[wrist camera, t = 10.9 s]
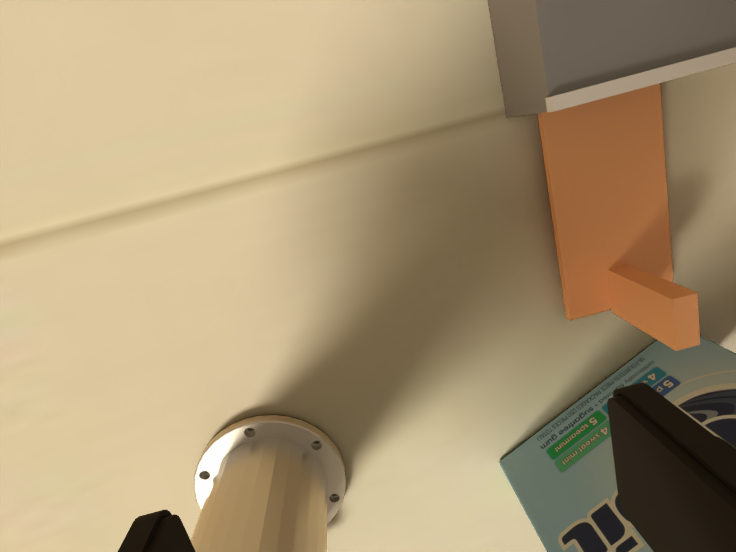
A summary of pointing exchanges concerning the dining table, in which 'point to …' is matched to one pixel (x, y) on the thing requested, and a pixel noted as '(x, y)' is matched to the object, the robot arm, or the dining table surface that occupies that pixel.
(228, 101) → the dining table surface
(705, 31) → the grey boxy piece
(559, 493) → the teal product box
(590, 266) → the orange stepped block
